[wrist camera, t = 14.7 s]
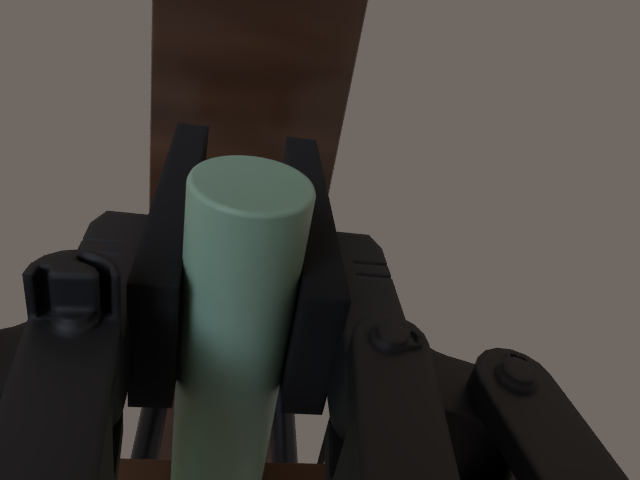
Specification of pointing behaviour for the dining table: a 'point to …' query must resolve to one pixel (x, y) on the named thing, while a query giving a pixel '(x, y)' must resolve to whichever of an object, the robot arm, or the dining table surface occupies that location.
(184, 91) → the brown piece
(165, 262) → the robot arm
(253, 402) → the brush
